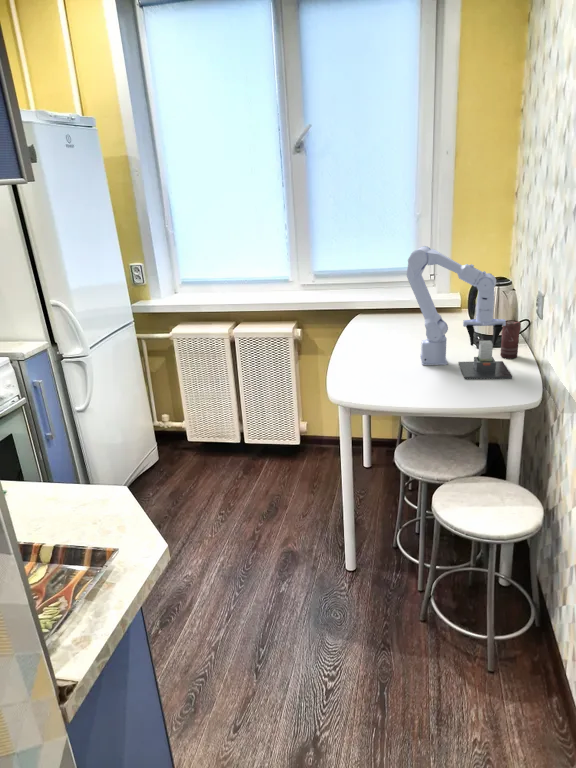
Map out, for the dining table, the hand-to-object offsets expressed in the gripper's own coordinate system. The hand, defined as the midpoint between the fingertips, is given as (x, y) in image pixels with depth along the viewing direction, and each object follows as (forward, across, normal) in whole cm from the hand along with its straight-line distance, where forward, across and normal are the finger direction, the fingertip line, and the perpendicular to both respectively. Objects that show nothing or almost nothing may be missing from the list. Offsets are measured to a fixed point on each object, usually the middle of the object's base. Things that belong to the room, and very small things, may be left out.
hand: (482, 344), depth 207 cm
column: (+5, 0, -6) cm, 8 cm away
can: (+9, +12, +10) cm, 18 cm away
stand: (+8, 0, -6) cm, 10 cm away
